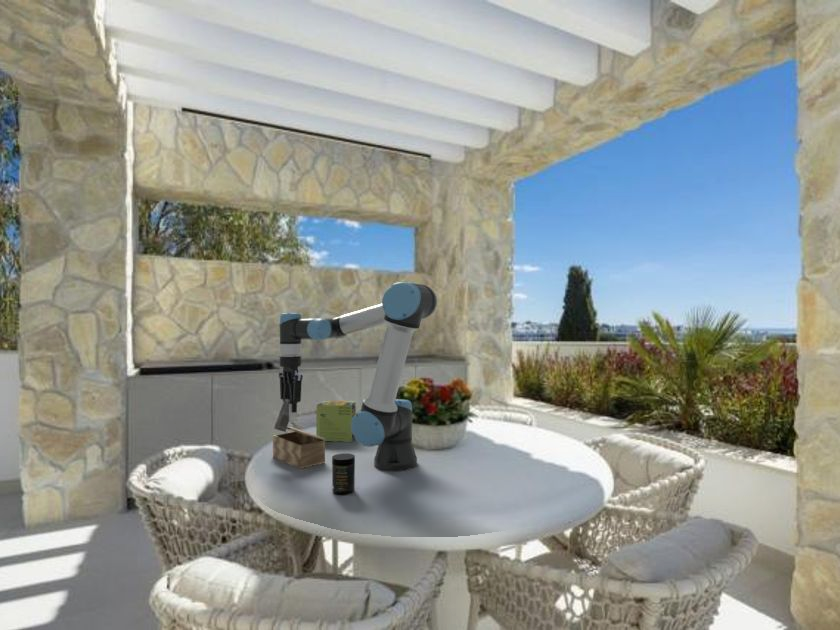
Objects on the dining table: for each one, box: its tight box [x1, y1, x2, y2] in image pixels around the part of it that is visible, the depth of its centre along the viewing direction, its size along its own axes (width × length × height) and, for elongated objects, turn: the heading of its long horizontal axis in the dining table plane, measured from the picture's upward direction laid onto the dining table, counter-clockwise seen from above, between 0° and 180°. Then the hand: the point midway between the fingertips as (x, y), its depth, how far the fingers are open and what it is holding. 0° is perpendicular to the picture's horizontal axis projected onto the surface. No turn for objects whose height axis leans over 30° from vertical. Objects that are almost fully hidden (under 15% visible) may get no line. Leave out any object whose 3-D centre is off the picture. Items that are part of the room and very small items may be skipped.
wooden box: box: [272, 431, 326, 470], centre depth 173 cm, size 20×10×8 cm, turn 43°
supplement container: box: [331, 452, 356, 496], centre depth 141 cm, size 7×7×10 cm
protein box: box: [315, 400, 357, 443], centre depth 203 cm, size 10×15×16 cm
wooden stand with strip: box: [273, 399, 325, 440], centre depth 173 cm, size 20×14×11 cm
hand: (290, 420), depth 170 cm, fingers closed on wooden stand with strip, 3 cm apart
